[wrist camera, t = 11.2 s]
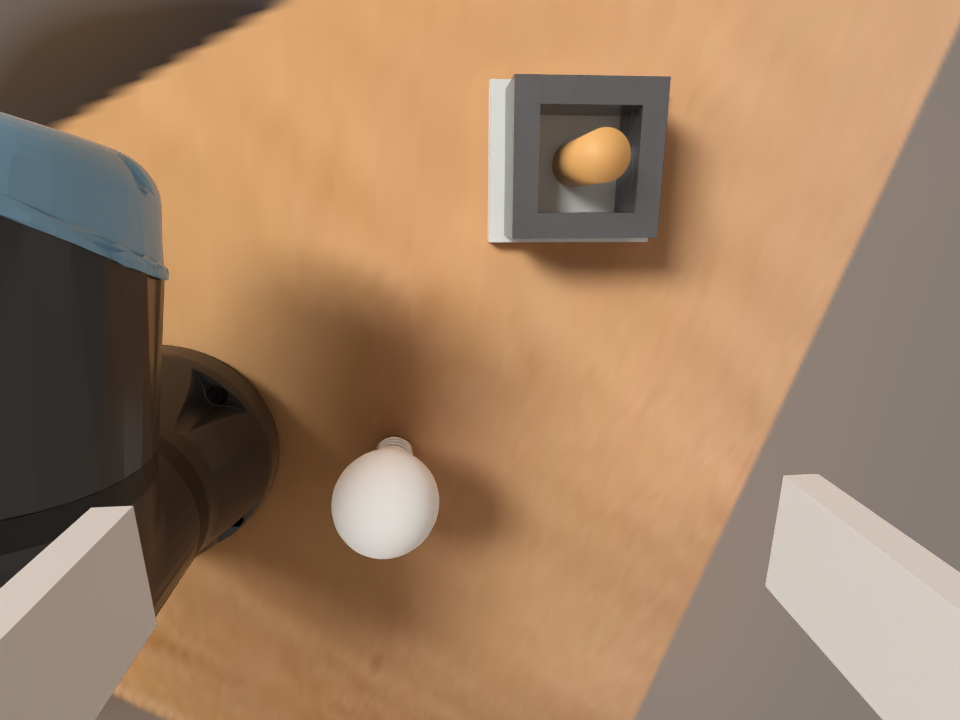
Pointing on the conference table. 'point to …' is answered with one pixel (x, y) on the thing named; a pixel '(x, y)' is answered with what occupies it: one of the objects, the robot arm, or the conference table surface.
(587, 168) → the keeper
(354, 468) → the light bulb
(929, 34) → the conference table surface
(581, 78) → the grey square frame
